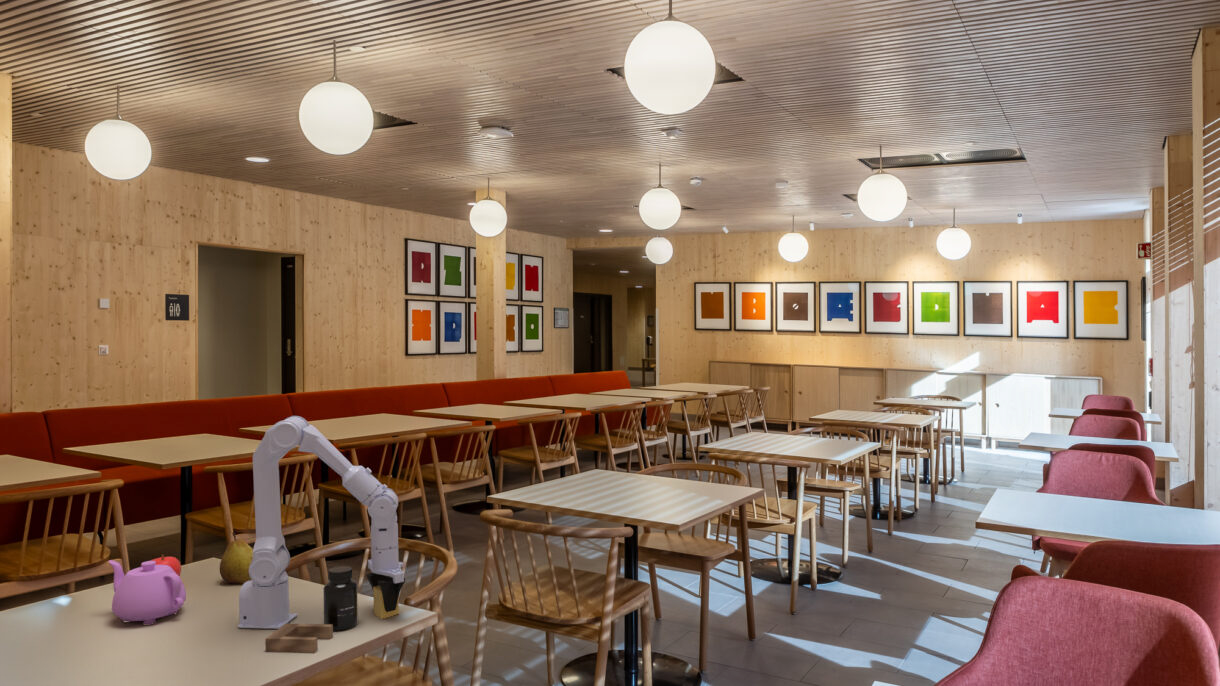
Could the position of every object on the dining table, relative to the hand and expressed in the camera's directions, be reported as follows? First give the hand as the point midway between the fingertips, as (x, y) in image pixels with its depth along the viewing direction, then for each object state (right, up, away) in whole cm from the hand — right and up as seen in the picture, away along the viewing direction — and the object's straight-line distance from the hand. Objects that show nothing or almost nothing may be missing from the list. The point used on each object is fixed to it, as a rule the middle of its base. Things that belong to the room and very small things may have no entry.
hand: (386, 607), depth 177 cm
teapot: (-53, -3, +1) cm, 53 cm away
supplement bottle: (-8, -2, -6) cm, 10 cm away
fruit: (-44, -2, +26) cm, 51 cm away
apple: (-61, -2, +22) cm, 65 cm away
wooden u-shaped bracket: (-13, -2, -16) cm, 20 cm away
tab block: (0, -1, 0) cm, 1 cm away
